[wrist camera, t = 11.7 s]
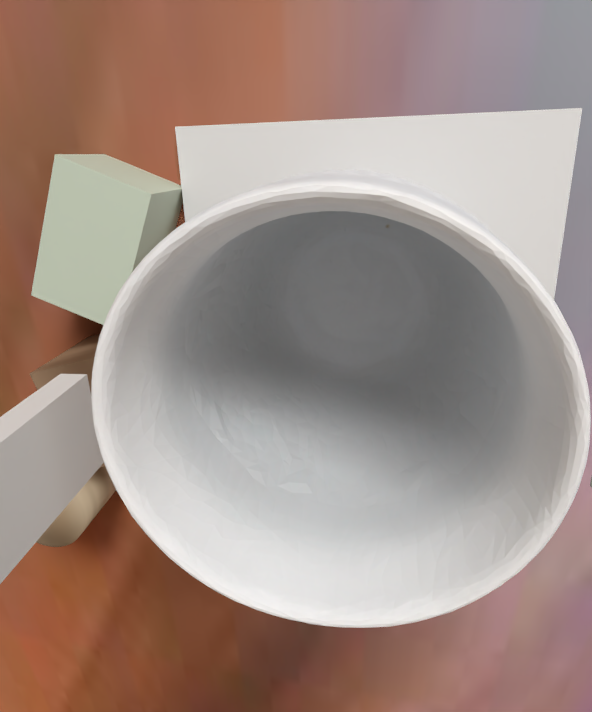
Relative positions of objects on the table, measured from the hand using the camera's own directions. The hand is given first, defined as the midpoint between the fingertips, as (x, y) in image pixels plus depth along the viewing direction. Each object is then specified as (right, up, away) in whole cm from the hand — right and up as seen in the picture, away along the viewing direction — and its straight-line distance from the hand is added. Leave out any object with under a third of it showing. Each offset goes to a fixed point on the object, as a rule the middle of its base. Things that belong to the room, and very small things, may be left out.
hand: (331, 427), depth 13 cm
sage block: (-9, +8, +11) cm, 16 cm away
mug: (+2, +4, +10) cm, 11 cm away
